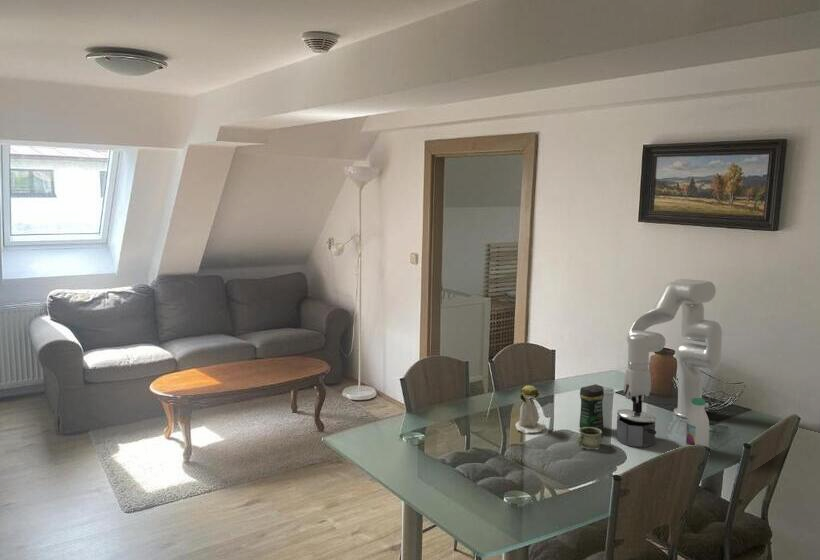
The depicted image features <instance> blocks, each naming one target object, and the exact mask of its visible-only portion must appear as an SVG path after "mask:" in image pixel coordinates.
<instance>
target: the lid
mask: <svg viewBox="0 0 820 560" xmlns="http://www.w3.org/2000/svg"><path fill="white" fill-rule="evenodd" d="M616 414H617V416H620V417H622V418H625V419H628V420H631V421H636V422H643V423H653V422H655V423H656V421H657V420H656V419H657V417H656V416H655V415H653V414H651V413H648V412H645V411H642V412H641V413H637V412H634V411H633V409H627V408H625V409H624V408H621V409H617V412H616Z"/></svg>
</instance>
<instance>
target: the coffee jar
mask: <svg viewBox="0 0 820 560" xmlns="http://www.w3.org/2000/svg"><path fill="white" fill-rule="evenodd" d="M604 393H605V392H604V387H603V386H602V385H600V384H596V383H594V384H591V385H588V386H582V387H580V390H579V397H580V412H579V413H580V414H579V423H578V424H579V425H578V426H579V429H580V428H583V427H594V428H598V429H600V430H601V431H602V430H603V429H604V415H603V414H604V411H603V400H604V396H605V394H604Z"/></svg>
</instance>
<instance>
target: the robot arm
mask: <svg viewBox="0 0 820 560" xmlns="http://www.w3.org/2000/svg"><path fill="white" fill-rule="evenodd" d="M716 290H717V289H716V286H715V284H714V283H713V282H711V281H708V280H699V279H690V278H688V279H687V278H680V279H679V278H678V279H675V280H674V281H671V282H668V283H667V284H666V285H665V286H664V288H663V290H662V292H661V294H660V296H659V298H658V299H657V301H656V304H655V305H654V306H653V308H652V309H650V310H648V311H646V312H645V313H643V314H642V315H640V316H639V317H637V318H636V319H635V321H634V322H633V324H632V325H631V328H630V329H629V331H628V334H627V339H626V341H627V344H628V348H627V349H628V350H627V369H626V370H625V374H624V379H623V380H624V381H623V394H626V395H625V399H628V400H631V402H632V410H633V411H634V412H637V413H641V412H643V403H644V400H645V399H646V397H649V396H650V393H651V389H652V381H651V380H652V379H651V373H650V369H649V365H650V364H651V363H650V362H649V359H650V357H649V356H650V353H655V352H660V351H662V350H664V349H663V348H665V346H666V338H665V336H664V335H663V334H662V333H659V332H655V331H649V330H648V331H647V329H649V328H650V327H653V326H656V325H660V324H664V323H668V322H670V321H673V320H674V318H675V317H676V315H677V312H678V311H679V309H680V307H681V309H682V310H681V312H682V313H681V330H680V331H681V336H682V337H683V338H684V339H685V340H688V341H693V342H683V343H680V344H679V345H678V346H677V347H676V351H675V354H676V361H677V368H678V369H677V370H678V374H677V375H678V376H677V378H678V380H677V381H678V382H677V407H676V408H673V413H674V415H676V416H677V415H678V416H677V417H681V418H685V419H687V418H688V415H689V413H690V411H691V409H692V399H693V398H702V397H703V374H702V371H701V370H700V368H703V369H708V370H715V369H717V368H718V367H719V366H720V363H721V357H722V341H723V331H722V330H723V329H722V327H721V325H720V323H719V322H717V321H715V320H710V319H708V320H707V319H705V307H704V304H705V303H708V302H711V301H712V300H713V299H714V297H715V296H716ZM694 342H700V343H699V344H698V343H694ZM701 343H705V345H703V344H701ZM702 399H703V398H702ZM704 408H705V409H706V408H707V409H708V408H710V404H709V402H705V406H704Z"/></svg>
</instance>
